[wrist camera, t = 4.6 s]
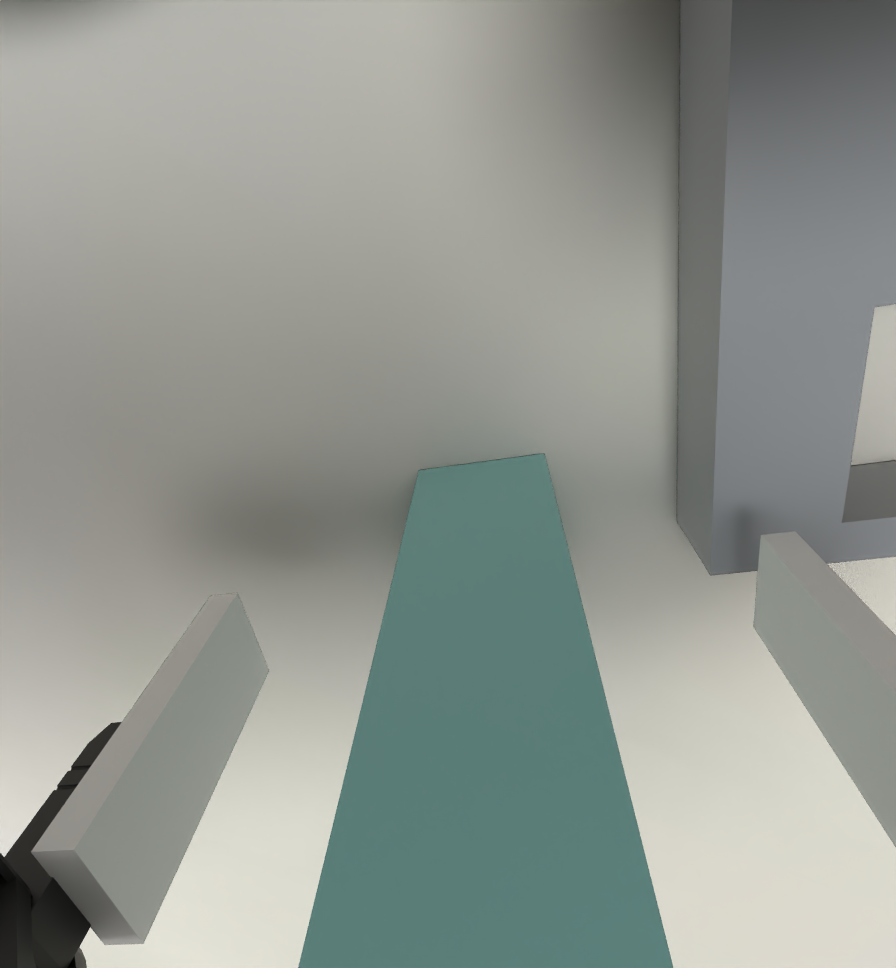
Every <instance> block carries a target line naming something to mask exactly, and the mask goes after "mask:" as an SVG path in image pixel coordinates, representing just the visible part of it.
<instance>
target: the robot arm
mask: <svg viewBox="0 0 896 968" xmlns="http://www.w3.org/2000/svg"><path fill="white" fill-rule="evenodd" d="M753 627H754V628H755V630H756V631H757V633H758V635H759V636H760V638H761V639H762V641H763V642H764V644H765V645H766V647H767V649H768V650H769V652H770V653H771V655H772V656H773V658H774V659H775V661H776V662H777V664H778V666H779V667H780V669H781V670H782V672H783V673H784V675H785V676H786V678H787V680H788V681H789V683H790V684H791V686H792V687H793V689H794V690H795V692H796V693H797V695H798V697H799V698H800V700H801V701H802V703H803V704H804V706H805V707H806V709H807V711H808V712H809V714H810V715H811V717H812V718H813V720H814V721H815V723H816V724H817V726H818V728H819V729H820V731H821V732H822V734H823V735H824V737H825V738H826V740H827V742H828V743H829V745H830V746H831V748H832V749H833V751H834V752H835V754H836V755H837V757H838V759H839V760H840V762H841V763H842V765H843V766H844V768H845V769H846V771H847V772H848V774H849V776H850V777H851V779H852V780H853V782H854V783H855V785H856V786H857V788H858V790H859V791H860V793H861V794H862V796H863V797H864V799H865V800H866V802H867V803H868V805H869V807H870V808H871V810H872V811H873V813H874V814H875V816H876V817H877V819H878V821H879V822H880V824H881V825H882V827H883V828H884V830H885V831H886V833H887V834H888V836H889V838H890V839H891V841H892V842H893V844H894V845H895V847H896V635H895V634H894V633H893V632H892V631H891V630H890V629H889V628H888V627H887V626H886V625H885V624H884V623H883V622H882V621H881V620H880V619H879V618H878V617H877V616H876V615H875V613H874V612H873V611H872V610H871V609H870V608H869V607H868V606H867V605H866V604H865V603H864V602H863V601H862V600H861V599H860V598H859V597H858V596H857V595H856V594H855V593H854V592H853V591H852V590H851V589H850V588H849V587H848V585H847V584H846V583H845V582H844V581H843V580H842V579H841V578H840V577H839V576H838V575H837V574H836V573H835V572H834V571H833V570H832V569H831V568H830V567H829V566H828V565H827V564H826V563H825V562H824V561H823V560H822V559H821V557H820V556H819V555H818V554H817V553H816V552H815V551H814V550H813V549H812V548H811V547H810V546H809V545H808V544H807V543H806V542H805V541H804V540H803V539H802V538H801V537H800V536H799V535H798V534H797V533H796V532H795V531H793V532H784V533H775V534H766V535H761V538H760V550H759V562H758V575H757V587H756V599H755V612H754V624H753ZM268 672H269V669H268V666H267V664H266V661H265V659H264V656H263V654H262V651H261V649H260V647H259V644H258V642H257V639H256V637H255V634H254V632H253V629H252V627H251V624H250V622H249V619H248V617H247V615H246V612H245V610H244V607H243V605H242V602H241V600H240V597H239V595H238V593H229V594H220V595H211V596H210V597H209V598H208V600H207V601H206V603H205V604H204V606H203V607H202V608H201V610H200V611H199V613H198V614H197V616H196V617H195V618H194V620H193V621H192V623H191V624H190V626H189V627H188V628H187V630H186V631H185V633H184V634H183V636H182V637H181V638H180V640H179V641H178V643H177V644H176V646H175V647H174V648H173V650H172V651H171V653H170V654H169V656H168V657H167V658H166V660H165V661H164V663H163V664H162V666H161V667H160V668H159V670H158V671H157V673H156V674H155V676H154V677H153V678H152V680H151V681H150V683H149V684H148V685H147V687H146V688H145V690H144V691H143V693H142V694H141V695H140V697H139V698H138V700H137V701H136V703H135V704H134V705H133V707H132V708H131V710H130V711H129V713H128V714H127V715H126V717H125V718H124V720H123V721H122V722H117V723H111V724H110V725H108V726H107V727H106V728H105V729H104V730H103V731H102V732H101V733H99V734H98V735H97V736H96V737H95V738H94V739H93V740H92V741H90V742H89V743H88V744H87V746H86V747H85V749H84V750H83V751H82V753H81V754H80V755H79V757H78V758H77V759H76V761H75V762H74V763H73V765H72V766H71V771H68V772H67V773H66V774H65V776H64V777H63V778H62V780H61V781H60V783H59V784H58V785H57V786H58V788H57V790H54V791H53V792H52V793H51V795H50V796H49V797H48V799H47V800H46V802H45V803H44V804H43V806H42V807H41V808H40V810H39V811H38V812H37V814H36V815H35V816H34V818H33V819H32V821H31V822H30V823H29V825H28V826H27V827H26V829H25V830H24V831H23V833H22V834H21V836H20V837H19V838H18V840H17V841H16V842H15V844H14V845H13V846H12V848H11V849H10V850H9V852H8V853H7V855H6V856H5V857H3V856H2V854H1V853H0V968H87V967H86V960H85V957H84V955H83V953H82V950H81V949H80V948H79V947H80V945H81V943H82V941H83V939H84V937H85V936H86V934H87V932H88V930H89V928H90V927H91V928H92V930H93V931H94V932H95V933H96V935H97V936H98V937H99V938H100V940H101V941H102V942H103V943H104V945H116V944H144V941H145V939H146V937H147V935H148V933H149V931H150V928H151V926H152V924H153V922H154V920H155V917H156V915H157V913H158V911H159V909H160V907H161V904H162V902H163V900H164V898H165V896H166V894H167V891H168V889H169V887H170V885H171V883H172V881H173V878H174V876H175V874H176V872H177V870H178V868H179V865H180V863H181V861H182V859H183V857H184V855H185V852H186V850H187V848H188V846H189V844H190V842H191V839H192V837H193V835H194V833H195V831H196V829H197V826H198V824H199V822H200V820H201V818H202V815H203V813H204V811H205V809H206V807H207V805H208V802H209V800H210V798H211V796H212V794H213V792H214V789H215V787H216V785H217V783H218V781H219V779H220V776H221V774H222V772H223V770H224V768H225V766H226V763H227V761H228V759H229V757H230V755H231V753H232V750H233V748H234V746H235V744H236V742H237V740H238V737H239V735H240V733H241V731H242V729H243V727H244V724H245V722H246V720H247V718H248V716H249V713H250V711H251V709H252V707H253V705H254V703H255V700H256V698H257V696H258V694H259V692H260V690H261V687H262V685H263V683H264V681H265V679H266V677H267V674H268Z"/></svg>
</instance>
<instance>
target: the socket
mask: <svg viewBox="0 0 896 968" xmlns="http://www.w3.org/2000/svg"><path fill="white" fill-rule="evenodd" d="M892 304H896V0H680V136H679V288H678V440H677V522H678V524H679V525H680V527H681V529H682V530H683V532H684V534H685V535H686V537H687V538H688V540H689V542H690V543H691V545H692V547H693V548H694V550H695V551H696V553H697V555H698V556H699V558H700V559H701V561H702V563H703V564H704V566H705V568H706V569H707V571H708V572H709V574H710V575H720V574H730V573H740V572H749V571H758V562H759V550H760V538H761V535H766V534H775V533H784V532H793V531H795V532H796V533H797V534H798V535H799V536H800V537H801V538H802V539H803V540H804V541H805V542H806V543H807V544H808V545H809V546H810V547H811V548H812V549H813V550H814V551H815V552H816V553H817V554H818V555H819V556H820V557H821V559H822V560H823V561H824V562H825V563H826V564H827V563H837V562H847V561H857V560H866V559H876V558H886V557H896V461H889V462H881V463H872V464H864V465H856V466H850V465H851V459H852V452H853V445H854V439H855V432H856V426H857V419H858V413H859V406H860V399H861V393H862V386H863V380H864V373H865V367H866V360H867V353H868V347H869V340H870V334H871V327H872V321H873V314H874V307H879V306H886V305H892Z"/></svg>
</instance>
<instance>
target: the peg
mask: <svg viewBox="0 0 896 968" xmlns="http://www.w3.org/2000/svg"><path fill="white" fill-rule="evenodd" d="M298 968H673V964H672V960H671V956H670V952H669V948H668V944H667V940H666V936H665V932H664V928H663V924H662V920H661V916H660V913H659V909H658V905H657V901H656V897H655V893H654V889H653V885H652V881H651V877H650V873H649V869H648V865H647V861H646V857H645V853H644V849H643V845H642V841H641V837H640V833H639V829H638V825H637V821H636V817H635V813H634V809H633V805H632V801H631V797H630V793H629V789H628V785H627V781H626V777H625V773H624V769H623V765H622V761H621V757H620V753H619V749H618V745H617V741H616V737H615V733H614V729H613V725H612V721H611V717H610V713H609V709H608V705H607V701H606V697H605V693H604V689H603V685H602V681H601V677H600V673H599V669H598V665H597V661H596V657H595V653H594V649H593V645H592V641H591V637H590V633H589V629H588V625H587V621H586V617H585V613H584V609H583V605H582V601H581V597H580V593H579V589H578V585H577V581H576V577H575V573H574V569H573V565H572V561H571V557H570V553H569V549H568V545H567V541H566V537H565V533H564V529H563V525H562V521H561V517H560V513H559V509H558V505H557V501H556V497H555V493H554V489H553V485H552V481H551V477H550V473H549V469H548V465H547V461H546V458H545V454H537V455H529V456H522V457H514V458H507V459H499V460H492V461H484V462H477V463H469V464H462V465H454V466H446V467H439V468H431V469H424V470H419V472H418V476H417V480H416V484H415V488H414V493H413V497H412V501H411V505H410V509H409V513H408V517H407V521H406V526H405V530H404V534H403V538H402V542H401V546H400V550H399V554H398V559H397V563H396V567H395V571H394V575H393V579H392V583H391V587H390V592H389V596H388V600H387V604H386V608H385V612H384V616H383V620H382V625H381V629H380V633H379V637H378V641H377V645H376V649H375V653H374V658H373V662H372V666H371V670H370V674H369V678H368V682H367V687H366V691H365V695H364V699H363V703H362V707H361V711H360V715H359V720H358V724H357V728H356V732H355V736H354V740H353V744H352V748H351V753H350V757H349V761H348V765H347V769H346V773H345V777H344V781H343V786H342V790H341V794H340V798H339V802H338V806H337V810H336V814H335V819H334V823H333V827H332V831H331V835H330V839H329V843H328V847H327V852H326V856H325V860H324V864H323V868H322V872H321V876H320V880H319V885H318V889H317V893H316V897H315V901H314V905H313V909H312V913H311V918H310V922H309V926H308V930H307V934H306V938H305V942H304V946H303V951H302V955H301V959H300V963H299V967H298Z"/></svg>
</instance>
